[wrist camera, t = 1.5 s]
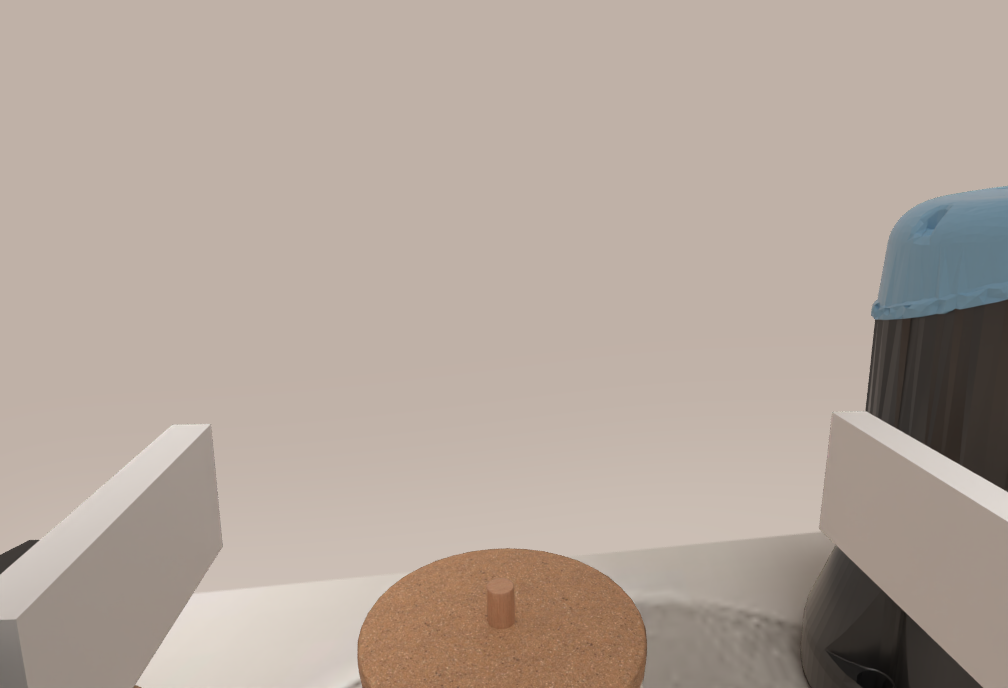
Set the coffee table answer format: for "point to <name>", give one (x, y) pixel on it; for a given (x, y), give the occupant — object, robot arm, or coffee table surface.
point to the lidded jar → (503, 626)
